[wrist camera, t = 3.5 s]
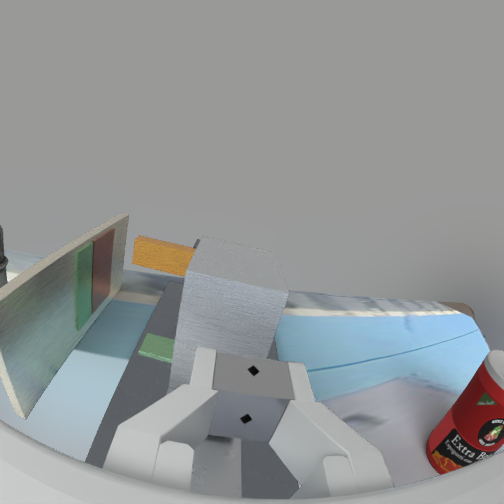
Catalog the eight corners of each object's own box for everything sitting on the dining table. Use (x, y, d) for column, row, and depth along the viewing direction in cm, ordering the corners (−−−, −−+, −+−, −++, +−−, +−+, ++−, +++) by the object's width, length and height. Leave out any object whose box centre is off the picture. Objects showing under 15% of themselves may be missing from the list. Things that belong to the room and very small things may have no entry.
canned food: (417, 468, 18) (492, 378, 14) (429, 420, 24) (483, 339, 21) (473, 490, 14) (551, 406, 10) (477, 441, 20) (534, 365, 17)
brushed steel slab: (235, 438, 18) (289, 292, 14) (117, 411, 17) (117, 253, 13) (236, 383, 24) (276, 253, 20) (138, 361, 23) (152, 224, 19)
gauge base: (296, 519, 13) (374, 444, 10) (-1, 440, 11) (-51, 328, 8) (266, 310, 42) (286, 244, 39) (122, 276, 39) (130, 208, 36)
